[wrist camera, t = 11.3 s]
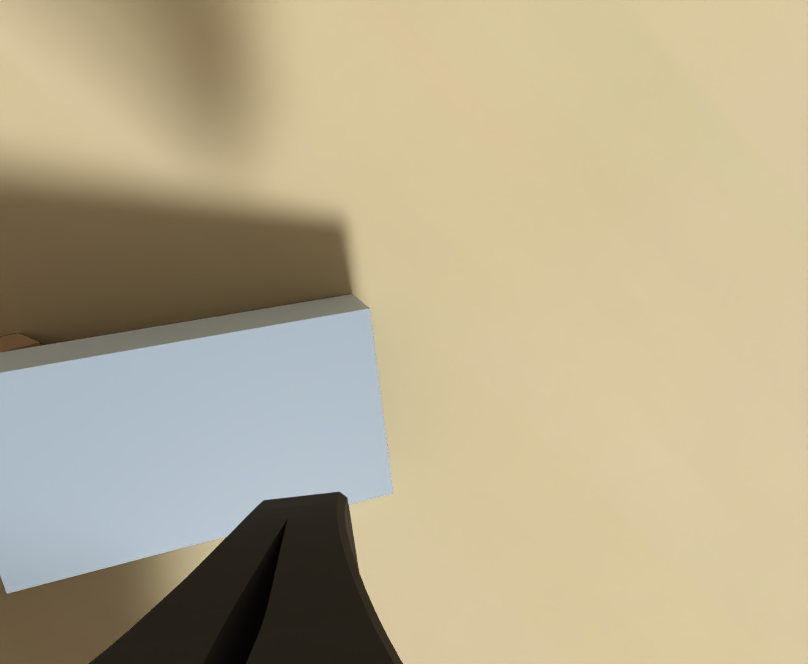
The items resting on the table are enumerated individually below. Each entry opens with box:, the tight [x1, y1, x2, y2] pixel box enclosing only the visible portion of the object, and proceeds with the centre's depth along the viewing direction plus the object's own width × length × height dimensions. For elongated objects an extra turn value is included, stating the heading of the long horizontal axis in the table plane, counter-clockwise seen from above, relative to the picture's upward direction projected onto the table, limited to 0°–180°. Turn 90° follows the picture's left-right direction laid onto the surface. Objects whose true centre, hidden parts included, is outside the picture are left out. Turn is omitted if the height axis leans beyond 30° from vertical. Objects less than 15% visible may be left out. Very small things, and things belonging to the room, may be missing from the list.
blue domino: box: [0, 294, 393, 594], centre depth 14 cm, size 5×2×9 cm
